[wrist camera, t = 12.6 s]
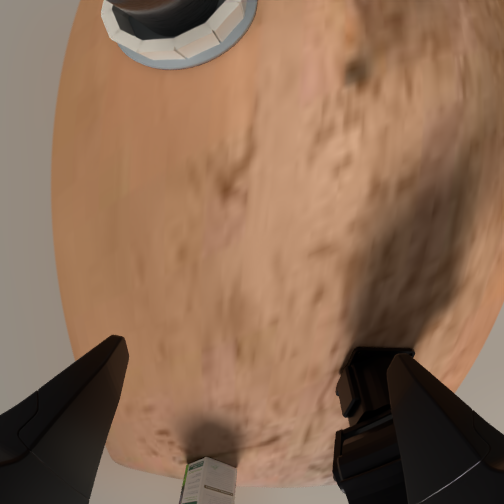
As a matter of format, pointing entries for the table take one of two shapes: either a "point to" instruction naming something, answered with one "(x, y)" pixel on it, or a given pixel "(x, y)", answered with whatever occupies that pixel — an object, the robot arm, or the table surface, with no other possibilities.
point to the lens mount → (180, 36)
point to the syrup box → (208, 483)
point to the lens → (168, 14)
